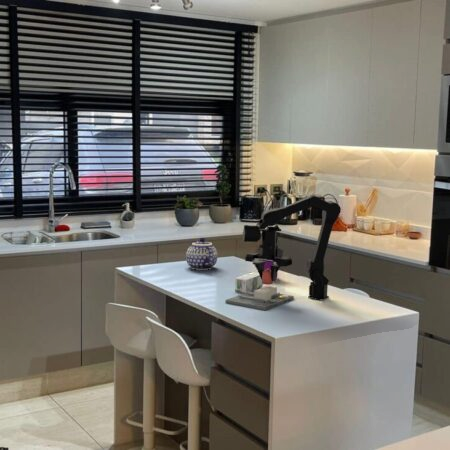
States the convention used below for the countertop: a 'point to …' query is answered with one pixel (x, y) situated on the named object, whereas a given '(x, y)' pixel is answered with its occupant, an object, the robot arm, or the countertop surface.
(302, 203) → the robot arm
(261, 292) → the block
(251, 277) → the syrup box
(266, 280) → the lockout cap
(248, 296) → the panel
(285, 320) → the countertop surface
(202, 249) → the teapot
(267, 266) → the beverage can
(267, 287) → the breaker
